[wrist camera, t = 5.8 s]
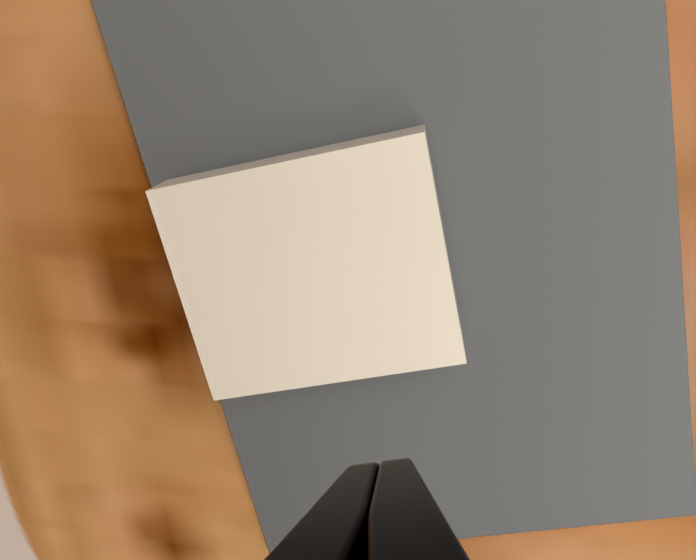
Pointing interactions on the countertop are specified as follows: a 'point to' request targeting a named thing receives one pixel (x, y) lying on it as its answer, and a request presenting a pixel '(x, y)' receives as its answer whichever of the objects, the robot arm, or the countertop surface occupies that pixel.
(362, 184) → the tile
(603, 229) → the mat
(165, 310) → the countertop surface
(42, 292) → the countertop surface
